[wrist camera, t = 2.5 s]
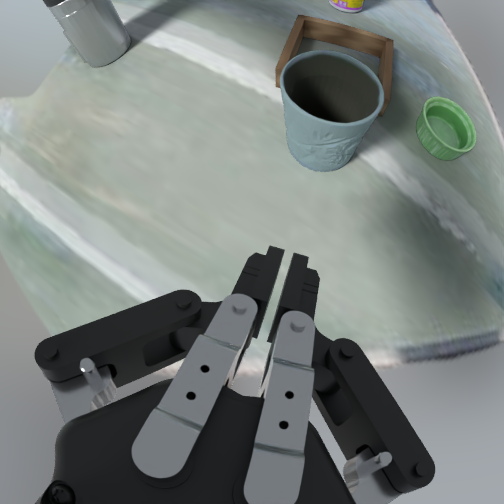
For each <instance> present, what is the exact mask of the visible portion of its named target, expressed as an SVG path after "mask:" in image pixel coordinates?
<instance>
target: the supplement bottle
mask: <svg viewBox="0 0 504 504" xmlns="http://www.w3.org/2000/svg"><path fill="white" fill-rule="evenodd" d="M329 3H330V4H331V5H332V6H333V7H334V8H336V9H338V10H340V11H343V12H349V13H355V12H358V11H360V10H361V9H362V7H363V3H364V0H329Z"/></svg>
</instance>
